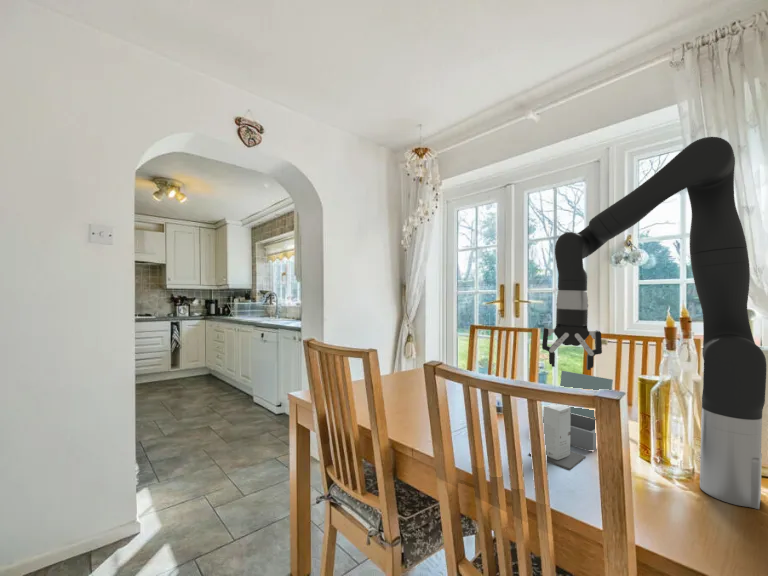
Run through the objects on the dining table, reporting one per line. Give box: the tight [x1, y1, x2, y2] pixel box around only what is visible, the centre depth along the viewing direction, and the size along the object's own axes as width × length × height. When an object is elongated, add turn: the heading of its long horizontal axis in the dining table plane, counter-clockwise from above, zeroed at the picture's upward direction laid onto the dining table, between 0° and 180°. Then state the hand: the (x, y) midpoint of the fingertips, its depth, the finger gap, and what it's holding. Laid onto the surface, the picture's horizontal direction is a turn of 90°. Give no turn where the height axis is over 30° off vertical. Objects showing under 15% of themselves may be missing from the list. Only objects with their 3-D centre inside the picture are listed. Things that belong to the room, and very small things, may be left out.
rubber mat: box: [528, 450, 587, 471], centre depth 94 cm, size 10×10×1 cm
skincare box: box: [542, 403, 571, 460], centre depth 94 cm, size 6×4×12 cm
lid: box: [559, 370, 614, 420], centre depth 111 cm, size 14×12×1 cm
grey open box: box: [570, 413, 597, 451], centre depth 106 cm, size 14×12×5 cm
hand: (570, 367), depth 100 cm, fingers open, 8 cm apart
